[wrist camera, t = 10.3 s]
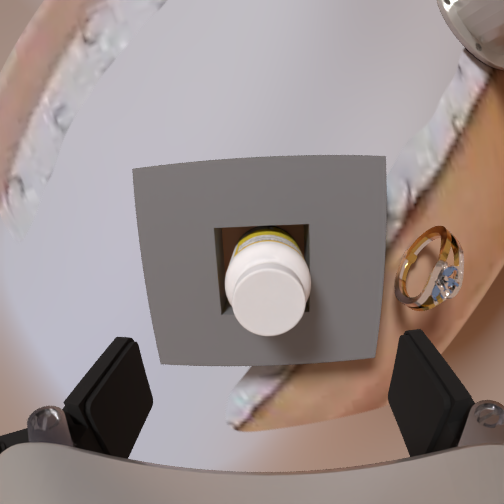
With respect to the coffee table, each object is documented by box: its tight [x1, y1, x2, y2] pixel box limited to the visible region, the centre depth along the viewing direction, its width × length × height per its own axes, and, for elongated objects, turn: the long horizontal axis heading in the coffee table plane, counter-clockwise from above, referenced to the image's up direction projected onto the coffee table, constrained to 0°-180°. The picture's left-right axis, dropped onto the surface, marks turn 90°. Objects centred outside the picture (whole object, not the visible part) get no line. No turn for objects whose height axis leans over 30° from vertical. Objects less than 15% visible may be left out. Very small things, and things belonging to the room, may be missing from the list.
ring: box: [394, 226, 464, 311], centre depth 23 cm, size 7×3×8 cm, turn 148°
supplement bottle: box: [225, 225, 311, 336], centre depth 22 cm, size 5×5×10 cm
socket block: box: [133, 155, 387, 366], centre depth 25 cm, size 18×16×4 cm
